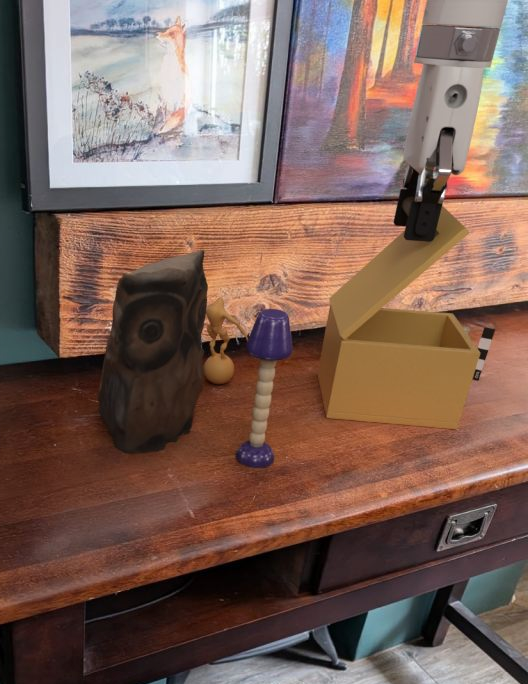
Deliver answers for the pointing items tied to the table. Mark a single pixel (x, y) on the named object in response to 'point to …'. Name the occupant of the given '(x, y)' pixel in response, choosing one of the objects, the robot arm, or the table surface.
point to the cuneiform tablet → (482, 348)
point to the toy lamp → (265, 381)
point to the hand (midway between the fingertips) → (412, 231)
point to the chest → (398, 369)
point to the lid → (392, 272)
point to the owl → (155, 354)
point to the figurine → (221, 365)
